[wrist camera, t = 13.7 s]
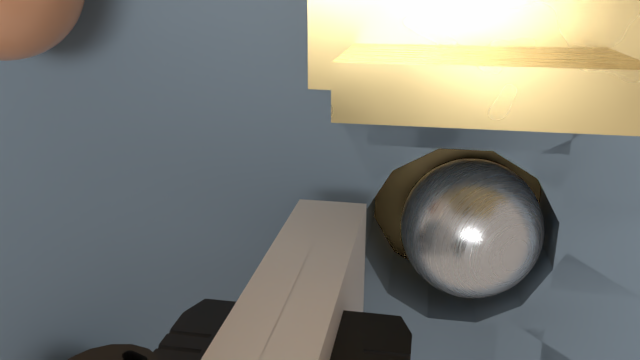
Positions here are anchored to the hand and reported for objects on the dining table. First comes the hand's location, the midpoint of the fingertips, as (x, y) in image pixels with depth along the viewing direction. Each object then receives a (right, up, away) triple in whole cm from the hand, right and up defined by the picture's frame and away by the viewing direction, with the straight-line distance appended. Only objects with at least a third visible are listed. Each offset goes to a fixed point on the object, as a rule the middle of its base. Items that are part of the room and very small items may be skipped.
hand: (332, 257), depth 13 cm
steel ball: (+3, +1, +2) cm, 4 cm away
